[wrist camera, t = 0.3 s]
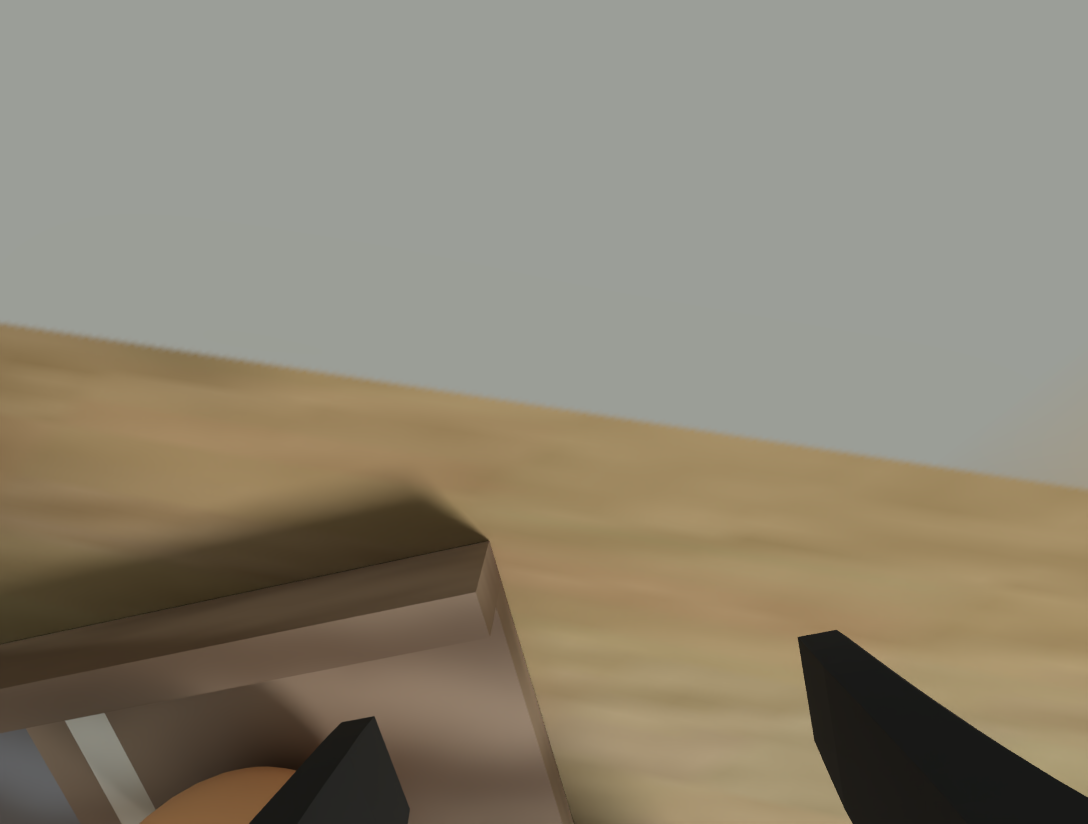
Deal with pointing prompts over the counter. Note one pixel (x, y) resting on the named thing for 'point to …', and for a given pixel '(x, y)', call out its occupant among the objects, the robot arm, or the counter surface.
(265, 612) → the tray
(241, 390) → the counter surface
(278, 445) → the counter surface
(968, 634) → the counter surface
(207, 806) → the ball
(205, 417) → the counter surface
